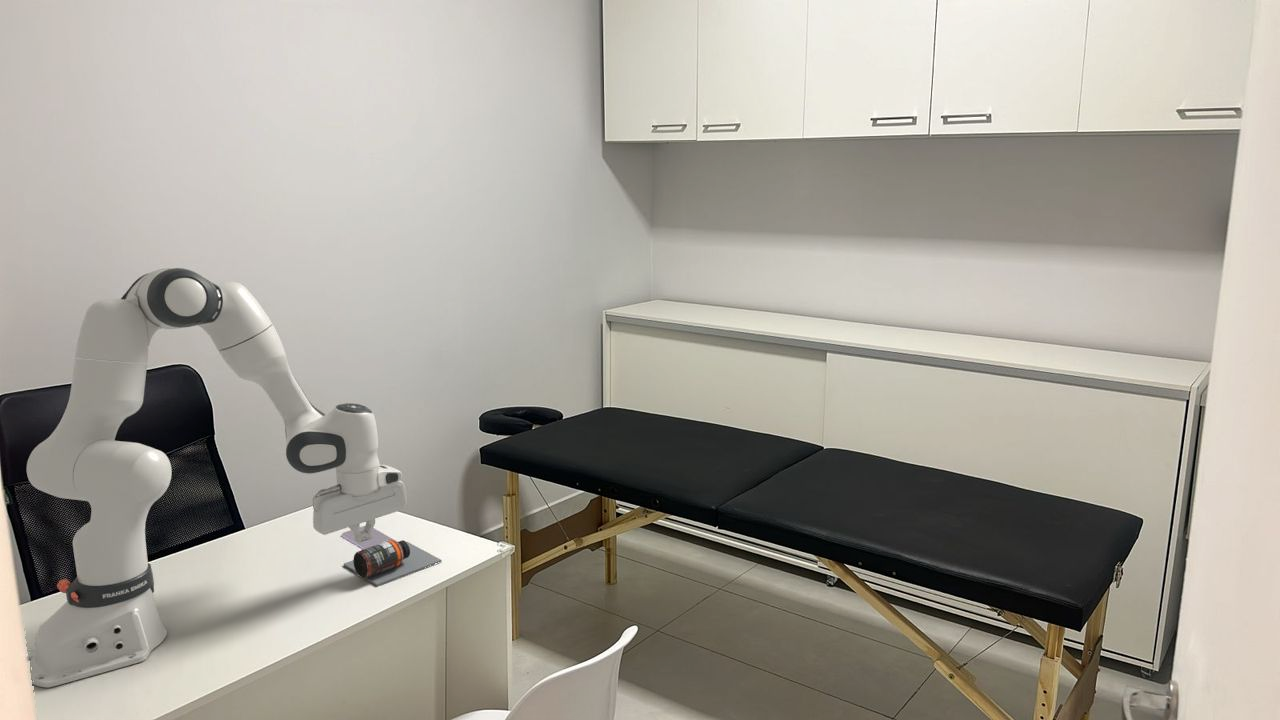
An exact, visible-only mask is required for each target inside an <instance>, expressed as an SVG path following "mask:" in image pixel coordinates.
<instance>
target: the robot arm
mask: <svg viewBox="0 0 1280 720" xmlns="http://www.w3.org/2000/svg"><path fill="white" fill-rule="evenodd" d="M197 326H198V327H200V328H202V330H204V331H205V332H206V333H207V335H208V336H209V338H211V340H212V342H213V345H214V346H215V347H216V350H217V351H218V352H219V354H220V356H221V357H222V359H223V360H224V362H225V364H227V365H228V367H229V368H230V369H231V370H232V371H233V372H234V373H235V374H236V375H237V377H238V378H240V379H242V380H246V381H247V382H248V381H250V382H253V383H255V384H256V385H257V384H258V386H260V387H261V388H262V389H263V390H264V392H265V393H266V394H267V396H268V397H269V399H270V401H271V402H272V404H273V405H274V407H275V409H276V410H277V411H278V413H279V415H280V416H281V418H282V420H283V423H284V427H285V431H284V432H285V439H286V443H285V456H286V460H287V462H288V464H289V465H290V467H292V469H294V470H296V471H298V472H300V473H302V474H308V475H309V474H311V475H312V474H316V473H320V472H321V473H322V472H325V471H329V470H332V469H335V476H336V478H335V479H336V484H335V485H333V486H330V487H328V488H327V487H326V488H323V489H320V490H318V492H317V493H316V494H315V495H313V497H312V508H313V512H312V513H313V514H312V515H313V516H312V524H313V526H312V527H313V529H314V530H315V531H316V532H317V533H318V534H321V535H324V536H325V535H328V534H332V533H335V532H338V531H341V530H344V529H349V530H351V531H352V532H353V533H354V535H355V541H356V542H358V543H360V542H363V541H366V540H369V539H371V531H372V529H373V528H374V527H375V525H376V519H378V518H381V517H384V516H387V515H388V516H389V515H390V514H394V513H396V512H400V511H402V510H404V509H405V508H406V506H407V504H408V503H407V502H408V501H407V500H408V499H407V491H406V486H405V484H404V482H403V481H402V480H403V473H402V471H400V470H399V469H397V468H395V467H393V466H390V465H387V464H380V459H379V456H378V449H379V448H378V447H379V436H378V435H379V433H378V427H377V421H376V418H375V414H374V413H373V411H372V409H370V408H369V407H368V406H365V405H362V404H358V403H350V402H349V403H346V402H345V403H340V404H337V405H335V407H334V408H333V409H332V410H331V411H329V412H328V413H324V412H322V410H319V408H317V407H315V406H314V405H313V404H312V403H311V401H310V400H309V398H308V397H307V395H306V394H305V392H304V390H303V389H302V387H301V385H300V383H299V382H298V381H297V379H296V378H295V376H294V374H293V372H292V369H291V368H290V365H289V361H288V357H287V353H286V351H285V348H284V345H283V342H282V340H281V337H280V336H279V333H278V332H277V330H276V328H275V326H274V324H273V323H272V321H271V319H270V317H269V316H268V314H267V313H266V311H265V309H264V308H263V306H261V304H260V303H259V301H258V300H257V299H256V298H255V297H254V295H253V294H252V293H251V292H250V291H249V290H248V288H247V287H246V286H244V285H243V284H241V283H239V282H237V281H223V282H219V283H216V284H215V283H214V282H212V281H210V280H208V279H206V278H205V277H203V276H202V275H201V274H199V273H198V272H195V271H193V270H190V269H186V268H182V267H173V268H169V267H168V268H161V269H160V268H159V269H157V270H154V271H151V272H148V273H146V274H143V275H142V276H140V277H138V278H137V279H136V280H135V281H134V282H133V283H132V284H131V286H130V287H129V288H128V289H127V290H126V292H125V293H124V294H122V296H121V298H106V299H101V300H98V301H95V302H94V303H92V304H91V305H89V307H88V308H87V310H86V312H85V314H84V317H83V320H82V324H81V327H80V331H79V333H78V337H77V338H78V339H77V343H76V349H75V355H74V358H75V359H74V364H73V372H72V373H73V374H72V381H71V387H70V392H69V393H70V394H69V398H68V402H67V405H66V408H65V410H64V412H63V415H62V418H61V419H60V422H59V423H58V424H57V426H56V427H55V429H54V431H52V432H51V434H50V435H49V437H47V438H46V439H44V440H43V441H42V442H40V443H39V444H38V445H36V447H34V448H33V450H32V451H31V453H30V455H29V457H28V459H27V462H26V474H27V478H28V481H29V483H30V484H31V486H33V487H34V488H35V489H37V490H38V491H41V492H43V493H46V494H49V495H51V496H53V497H56V498H61V499H68V500H75V501H76V500H77V501H84V502H85V501H86V502H88V503H89V505H90V508H91V513H90V518H89V519H90V520H89V521H88V522H87V523H85V524H84V525H82V526H81V528H80V529H78V530H77V532H76V533H75V535H74V536H73V539H72V549H73V556H74V562H75V569H76V570H75V571H76V575H77V576H76V578H75V579H74V580H73V581H72V582H71V581H70V580H68V579H67V578H64V579H60V580H59V581H58V583H57V584H56V587H57V589H58V590H59V591H60V593H62V594H65V595H66V597H65V598H66V602H65V603H64V604H63V605H61V606H60V607H59V608H58V609H57V610H56V611H55V612H54V613H53V614H52V615H51V616H50V617H48V619H46V620H45V621H44V622H43V623H42V624H41V625H39V628H38V629H37V632H36V635H35V642H34V649H32V650H31V651H28V652H27V653H28V655H29V660H30V673H31V680H32V683H31V684H32V685H34V686H36V687H40V688H41V687H42V688H53V687H56V686H57V687H58V686H60V685H64V684H67V683H70V682H75V681H78V680H81V679H85V678H89V677H92V676H96V675H99V674H102V673H106V672H109V671H113V670H117V669H120V668H124V667H127V666H131V665H135V664H137V663H138V664H139V663H141V662H143V661H145V660H147V659H148V657H149V656H150V654H151V652H152V651H153V650H154V649H155V648H157V647H158V646H160V644H162V642H163V641H164V640H165V639H166V637H167V634H168V630H167V628H166V627H165V624H164V622H163V621H162V618H161V616H160V614H159V613H160V612H159V610H158V607H157V603H156V600H155V594H154V593H155V587H154V586H155V580H154V574H153V569H152V565H151V563H149V560H148V551H147V542H146V522H147V517H148V514H149V511H150V510H151V508H152V506H153V504H154V503H155V502H157V501H158V500H159V499H160V498H161V497H162V496H163V495H164V494H165V492H167V490H168V488H169V486H170V484H171V480H172V475H173V474H172V472H173V471H172V464H171V461H170V459H169V457H168V456H167V454H166V453H165V452H163V451H162V450H159V449H156V448H154V447H151V446H148V445H145V444H142V443H139V442H132V441H120V440H115V439H116V436H117V433H118V430H119V428H120V426H121V425H122V424H123V423H124V420H125V419H127V418H129V417H131V416H132V415H134V414H136V413H137V412H139V410H140V409H141V408H142V405H143V404H144V397H145V388H146V387H145V386H146V377H147V370H148V369H147V368H148V358H149V346H150V344H151V341H152V338H153V336H154V334H156V332H157V331H159V330H160V329H161V330H162V329H165V330H178V329H183V328H191V327H197ZM362 523H366V524H364V526H365V528H364V530H363V531H360V532H359V531H358V529H357V528H360V527H361V526H360V524H362ZM29 652H30V653H29ZM31 667H32V670H31ZM33 681H34V682H33Z"/></svg>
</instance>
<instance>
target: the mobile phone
mask: <svg viewBox="0 0 1280 720" xmlns="http://www.w3.org/2000/svg"><path fill="white" fill-rule="evenodd" d="M364 528H365V525H364V526H360V528H357V529H358V531H359V532H360V531H363V530H364ZM340 536H341V537H342V538H344V539H345V540H347V541H348V542H350V543H352V544H353V545H354V546H356V547H358V548H360V550H364V549H366V548H369V547H372V546H375V545H378V544H380V543H383V542H386V541H389V540H394V541H396V542H398V541H397V540H395V539H394V538H392V537H390V536H388V535H387V534H386V533H385V534H384V533H383V532H381V531H379V530H377V529H376V528H374V527H373V529H372V531H371V539H369V540H366V541H363V542H360V543H358V542H356V541H355V535H354V533H353V532H352V531H351V529H349V530H348V531H344V532H342V533H341V535H340Z"/></svg>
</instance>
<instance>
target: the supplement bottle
mask: <svg viewBox="0 0 1280 720" xmlns="http://www.w3.org/2000/svg"><path fill="white" fill-rule="evenodd" d="M394 540H395V539H394ZM394 540H389V541H386V542H383V543H380V544H378V545H375V546H372V547H369V548H366V549H364V550H363V549H360V550H359V551H357V552H355V554H354V555H353V559H352V561H353V562H354V567H355V570H356V572H357V575H358V576H359V577H360V578H362V579H364V578H368V577H371V576H374V575H376V574H379V573H381V572H384V571H386V570H389V569H392V568H394V567H397V566H399V565H400V564H401V563H402V561H403V559H405V558H408V557H409V555H410V548H409V545H408V544H407V542H408V541H405V540H399V541H397V540H396V541H397V542H396V541H394Z"/></svg>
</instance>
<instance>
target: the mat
mask: <svg viewBox="0 0 1280 720" xmlns="http://www.w3.org/2000/svg"><path fill="white" fill-rule="evenodd" d="M406 542H407V544H408V545H409V548H410V555H409V557H408V558H405V559H403V561H402V563H401V564H400V565H399V566H397V567H394V568H392V569H389V570H386V571H384V572H381V573H379V574H376V575H374V576H371V577H368V578H363V579H364V580H366V581H367V582H370V584H372V585H374V586H376V587H380V586H383V585H385V584H388V583H390V582H393V581H396V580H399V579H401V577H402V578H404V577H407V576H409V575H411V573H412V574H414V573H413V572H415V573H417V572H420V571H422V570H421V569H423V570H424V568H425V567H428V566H430V565H433V564H435V563H438V562H441V561H442V562H443V560H442V559H440V558H439V557H437V556H435V555H433V554H431V553H429V552H427V551H425V550H424V549H422V548H420V547H418V546H416V545H415V544H413V543H410V542H409V541H406ZM442 562H441V563H442ZM438 564H439V563H438ZM343 566H344V567H345V568H346V569H348V570H350V571H352V572H353V573H355V574H357V572H356V570H355V567H354V562H353V560H350V561H347V562H344V563H343ZM433 566H434V565H433ZM428 568H429V567H428ZM425 569H426V568H425ZM419 570H420V571H419ZM416 571H417V572H416ZM408 574H409V575H408ZM357 575H358V574H357ZM406 575H407V576H406ZM398 578H399V579H398Z"/></svg>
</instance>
